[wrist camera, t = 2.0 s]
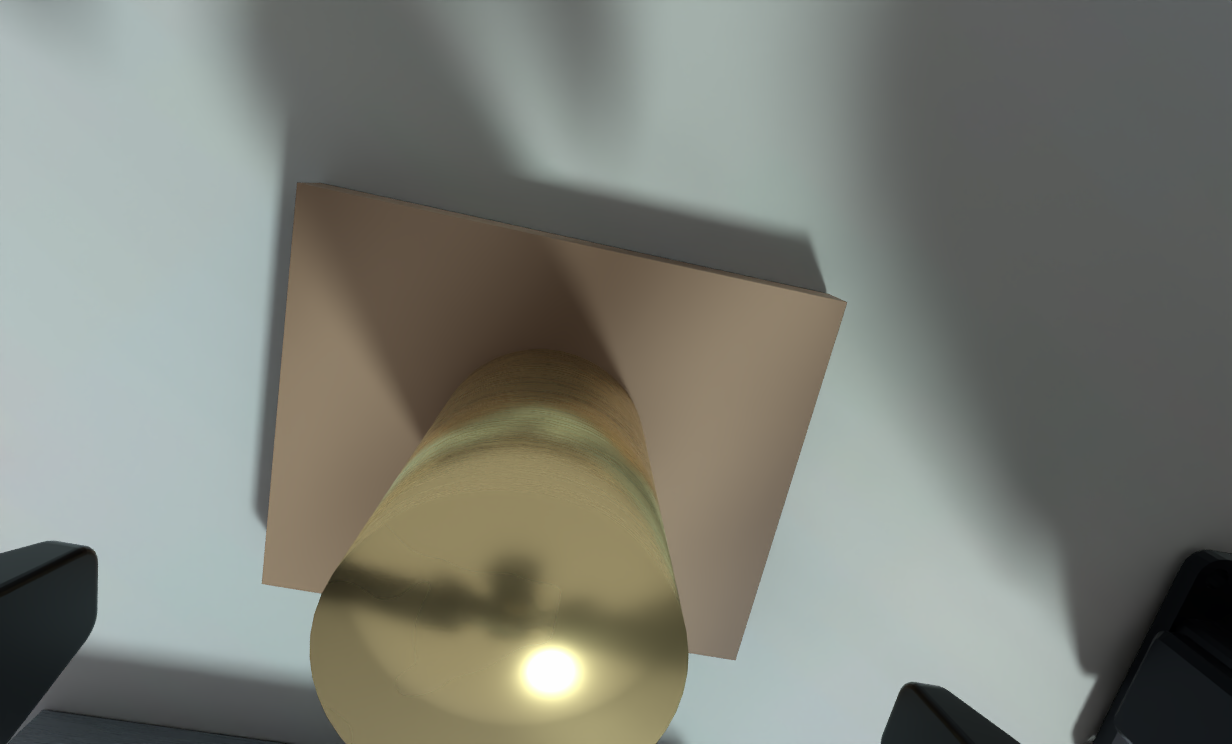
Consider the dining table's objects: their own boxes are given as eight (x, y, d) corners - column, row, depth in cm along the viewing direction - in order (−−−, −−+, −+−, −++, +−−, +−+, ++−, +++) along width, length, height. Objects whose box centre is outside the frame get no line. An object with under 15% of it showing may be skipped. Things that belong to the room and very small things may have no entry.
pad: (828, 293, 13) (847, 301, 12) (725, 630, 15) (735, 660, 14) (319, 183, 12) (297, 182, 11) (283, 557, 14) (262, 583, 13)
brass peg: (665, 372, 12) (730, 532, 7) (619, 556, 13) (641, 831, 8) (454, 329, 12) (329, 459, 6) (423, 522, 13) (293, 785, 7)
